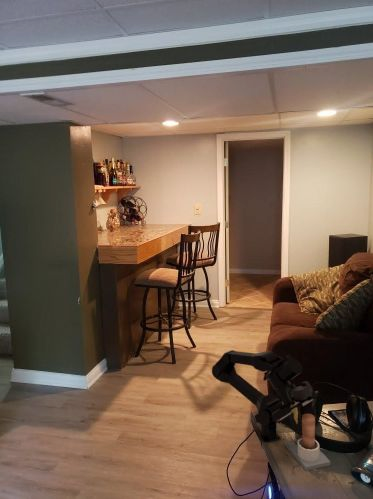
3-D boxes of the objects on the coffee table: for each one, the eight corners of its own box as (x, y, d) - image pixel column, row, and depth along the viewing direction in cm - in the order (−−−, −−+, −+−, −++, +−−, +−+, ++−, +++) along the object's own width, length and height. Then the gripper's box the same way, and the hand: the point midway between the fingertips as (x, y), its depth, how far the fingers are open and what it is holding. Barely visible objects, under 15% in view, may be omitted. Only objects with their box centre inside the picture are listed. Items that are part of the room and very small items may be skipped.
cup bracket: (285, 445, 136) (285, 432, 135) (308, 441, 138) (308, 427, 138) (305, 470, 124) (305, 455, 123) (330, 465, 126) (330, 450, 125)
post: (299, 450, 131) (299, 414, 129) (309, 448, 132) (310, 412, 130) (306, 458, 127) (306, 421, 125) (316, 455, 128) (317, 419, 126)
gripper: (279, 385, 124) (309, 433, 117) (312, 367, 135) (341, 410, 128) (259, 399, 131) (287, 445, 124) (293, 381, 142) (319, 422, 135)
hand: (310, 429), depth 128 cm, fingers open, 9 cm apart
